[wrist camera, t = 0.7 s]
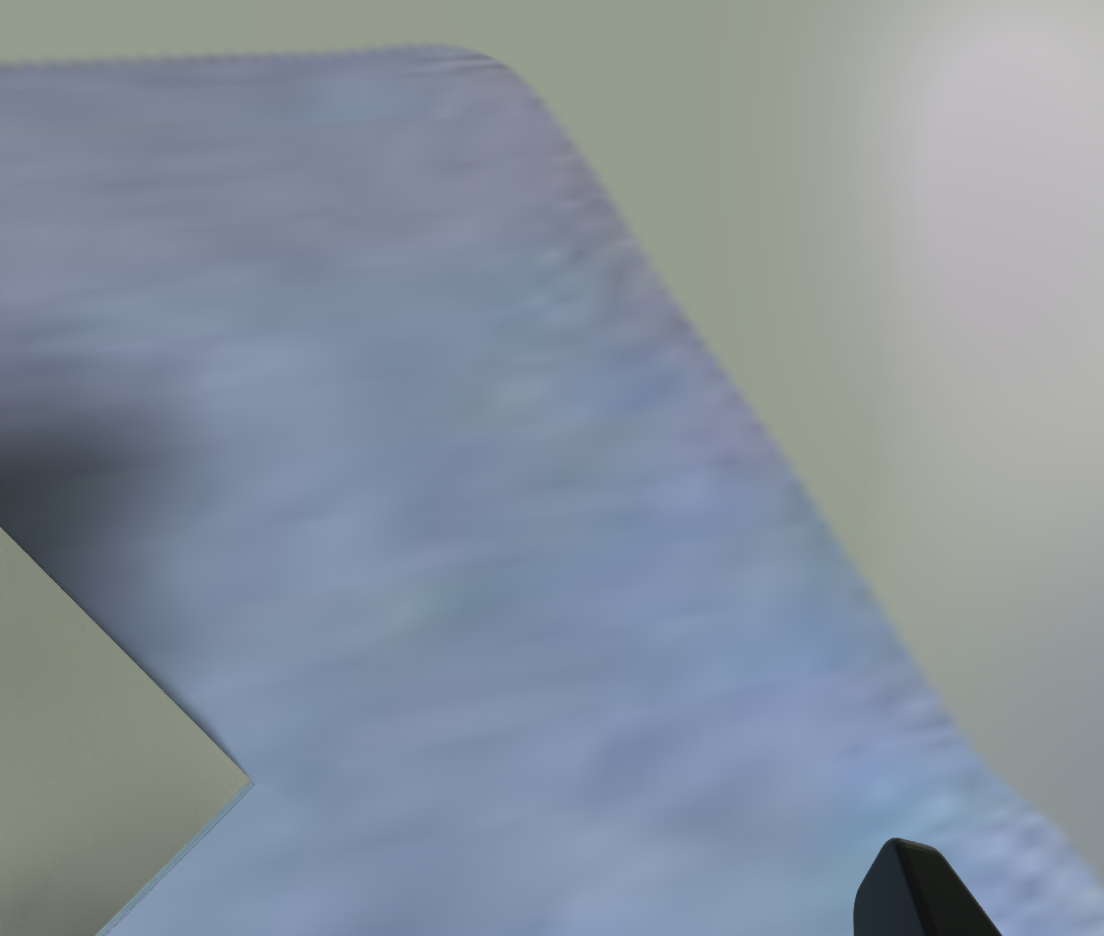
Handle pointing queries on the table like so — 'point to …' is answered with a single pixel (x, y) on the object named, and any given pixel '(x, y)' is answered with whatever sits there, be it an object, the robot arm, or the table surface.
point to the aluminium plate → (89, 766)
